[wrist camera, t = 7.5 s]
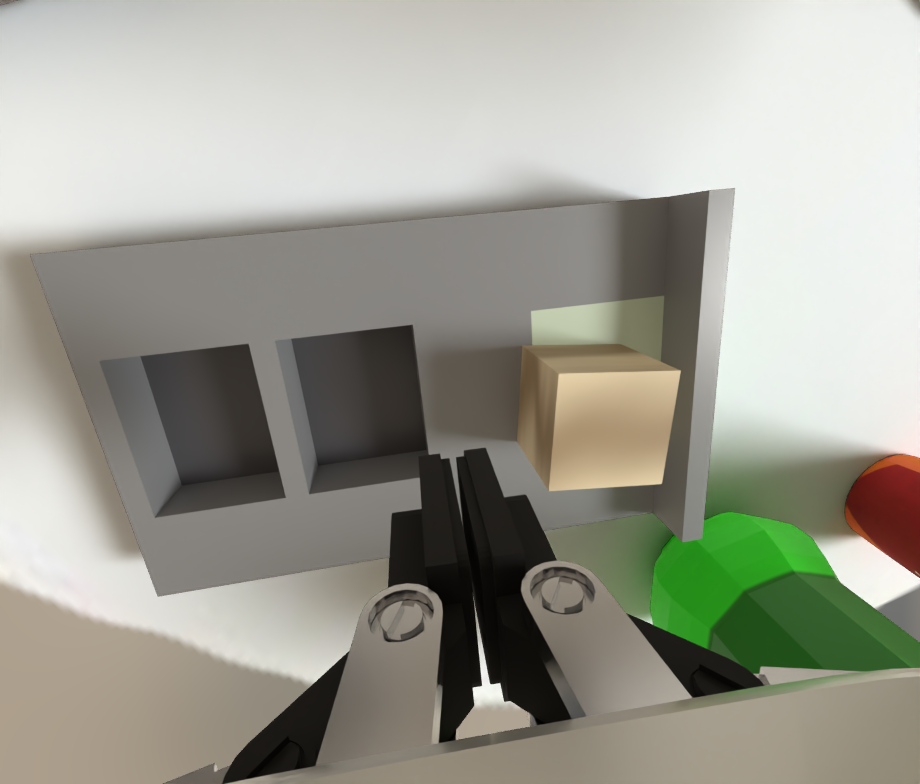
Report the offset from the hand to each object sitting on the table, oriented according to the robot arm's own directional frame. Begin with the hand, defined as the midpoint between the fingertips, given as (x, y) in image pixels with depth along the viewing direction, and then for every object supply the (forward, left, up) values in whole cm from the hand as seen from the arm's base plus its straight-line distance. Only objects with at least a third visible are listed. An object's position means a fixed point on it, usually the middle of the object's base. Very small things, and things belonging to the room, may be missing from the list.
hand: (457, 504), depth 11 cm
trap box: (+1, -1, -12) cm, 12 cm away
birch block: (+1, +6, -9) cm, 11 cm away
